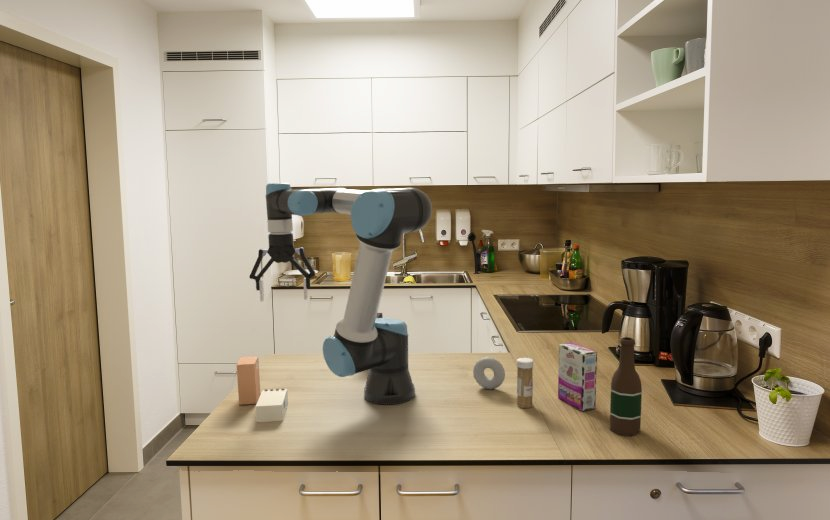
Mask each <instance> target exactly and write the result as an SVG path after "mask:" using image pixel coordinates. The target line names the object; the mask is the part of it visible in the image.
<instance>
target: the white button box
mask: <svg viewBox="0 0 830 520" xmlns="http://www.w3.org/2000/svg"><path fill="white" fill-rule="evenodd" d="M288 404H289V398H288V388H284V387H282V388H275V389H274V388H269V389H268V388H266V389H263V390H262V391H261V395H260V397H259V400H258V402H257V404H255V418H256V421H255V422H256V423H268V422H270V423H271V422H283V421H284V419H285V415H286V412H287V408H288Z"/></svg>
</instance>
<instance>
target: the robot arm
mask: <svg viewBox="0 0 830 520" xmlns="http://www.w3.org/2000/svg"><path fill="white" fill-rule="evenodd" d="M265 202H266V203H265V204H266V216H267V219H266V220H267V221H266V222H267V232H268V233H269V234H268V235H267V239H268V249H264V248H260V249H259V250H258V256H257V259H256V261H255V262H254V263H255V264H254V266H253V267H252V270H251V273H250V274H249V275H248V276H249V279H250V280H254V281H255V288H256V291H259V300H260V302H264V300H265V290H264V278H263V279H262V277H263V276H264V275H265V273H266V272H267V270H269V268H270V267H271V266H272V264H273V263H277V264H280V263H283V264H286V263H289V262H290V263H291V264H292V265H293V266H294V267H295V268H296V269H297V271H299V272H300V274H302V276H303V299H304V300H306V301H307V300H308V289H310V288H311V278H313V277H315V276H316V272H315V269H314V268H313V266H312V264H311V262H310V261H309V259H308V257H307V255H306V252H305V248H304V247H303V246H301V247H298V248H297V247H296V248H295V246H294V235H293V233H292V232H293V231H294V230H293V227H294V226H293V216H294V215H295V216H300V217H303V216H310V215H314V214H316V215H317V214H328V213H329V214H330V213H332V214H343V215H350V221H351V222H352V223H351V227H352V229H353V231H354V232H355V237H356V239H357V240H358V242H359V243H360V244H359V246H358V247H359V248H358V251H357V252H358V253H357V257H356V260H355V265H354V269H353V270H354V271H353V274H352V279H351V283H350V288H349V292H348V297H347V303H346V305H345V306H346V307H345V311H344V316H343V319H341V320H339V321H338V322H337V323H336V325H335V330H334V334H333V335H329V336H328V337H326V338H325V340H324V341H323V343H322V355H323V358H324V361H325V363H326V366H327V367H328V369H329V370H330V372H331V373H332V374H334V375H335V376H337V377H340V378H346V377H352V376H354V375H356V374H359V373H362V372H365V371H368V374H367V379H366V381H365V386H364V389H363V390H364V391H363V393H364V394H363V395H364V399H365V400H367V401H368V402H370V403H373V404H379V405H396V404H402V403H406V402H409V401H410V400H413V398H415V396H416V386H415V384H414V383H413V379H412V375H411V372H410V371H409V369H410V368H409V334H408V333H409V332H408V324H407V323H406V322H405V321H403V320H401V319H396V318H386V317H382V318H376V316H377V313H379V308H380V303H381V300H382V296H383V292H384V288H385V284H386V279H387V276H388V271H389V269H390V268H389V267H390V263H391V260H392V255H393V251H395V250H397V249H398V248H399V249H400V247H401V244H402V239H403V235H404V234H409V233H414V232H418V231H420V230H422V229H423V228H424V227H426V226H427V225H428V224H429V222H430V220H431V218H432V214H433V205H432V202H431V199H430V198H429V196H428V195H427V194H426V192H424V191H422V190H420V189H419V188H414V187H404V188H403V187H402V188H401V187H399V188H398V187H397V188H375V189H371V190H370V189H369V190H362V189H361V190H360V189H347V188H345V187H331V188H308V189H307V188H306V189H291V185H290V183H289V182H273V183H272V182H270V183H267V184H266V186H265ZM296 253H297V255H299V256H300V258H301V259H302V262H303V263H304V265H305V267H306V269H307V270H308V271H307V270H306V269H305V268H304V266H302V264H300V263H299V262H298V261H297V259H296V258H295V257H294V255H295V254H296ZM266 254H267V255H268V256H269V257H270V259H269V260H268V261H267V263H266V264H265V265H264V267H263V268H262V269H261V270H260V271H259V273H258V274H257V271H258V269H259V268H260V265H261V264H262V263H261V262H262V261H263V258H264V257H265V256H266ZM256 274H257V275H256Z"/></svg>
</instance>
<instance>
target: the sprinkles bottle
mask: <svg viewBox="0 0 830 520" xmlns="http://www.w3.org/2000/svg"><path fill="white" fill-rule="evenodd" d="M516 369H517V370H516V371H517V372H516V373H517V374H516V375H517V376H516V394H517V396H516V397H517V398H516V400H517V401H516V406H517V407H519V408H522V409H530V408H532V407H533V405H534V404H533V395H534V394H533V389H534V387H533V385H534V384H533V381H534V380H533V379H534V378H533V376H534V373H533V370H534V360H533V359H532V358H531V357H530V358H529V357H519V358H517V359H516Z"/></svg>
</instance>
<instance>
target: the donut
mask: <svg viewBox="0 0 830 520" xmlns="http://www.w3.org/2000/svg"><path fill="white" fill-rule="evenodd" d="M486 369H490V370H491V371H492V372H493V376H492V377H488V376H486V374H485V370H486ZM472 372H473V373H472V374H473V378H474V380H475V382H476V383H477V384H478V386H480V387H481V388H484V389H486V390H494V389H495V390H496V389H497V388H499V387H500V386H502V384H503V383H504V382H505V378H506V371H505V368H504V366H503V364H502V363H501V362H500V361H499V360H497V359H496V358H495V357H491V356H484V357H481V358H479V359H478V360H477V361H476V362H475V364H474V366H473V371H472Z"/></svg>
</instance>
